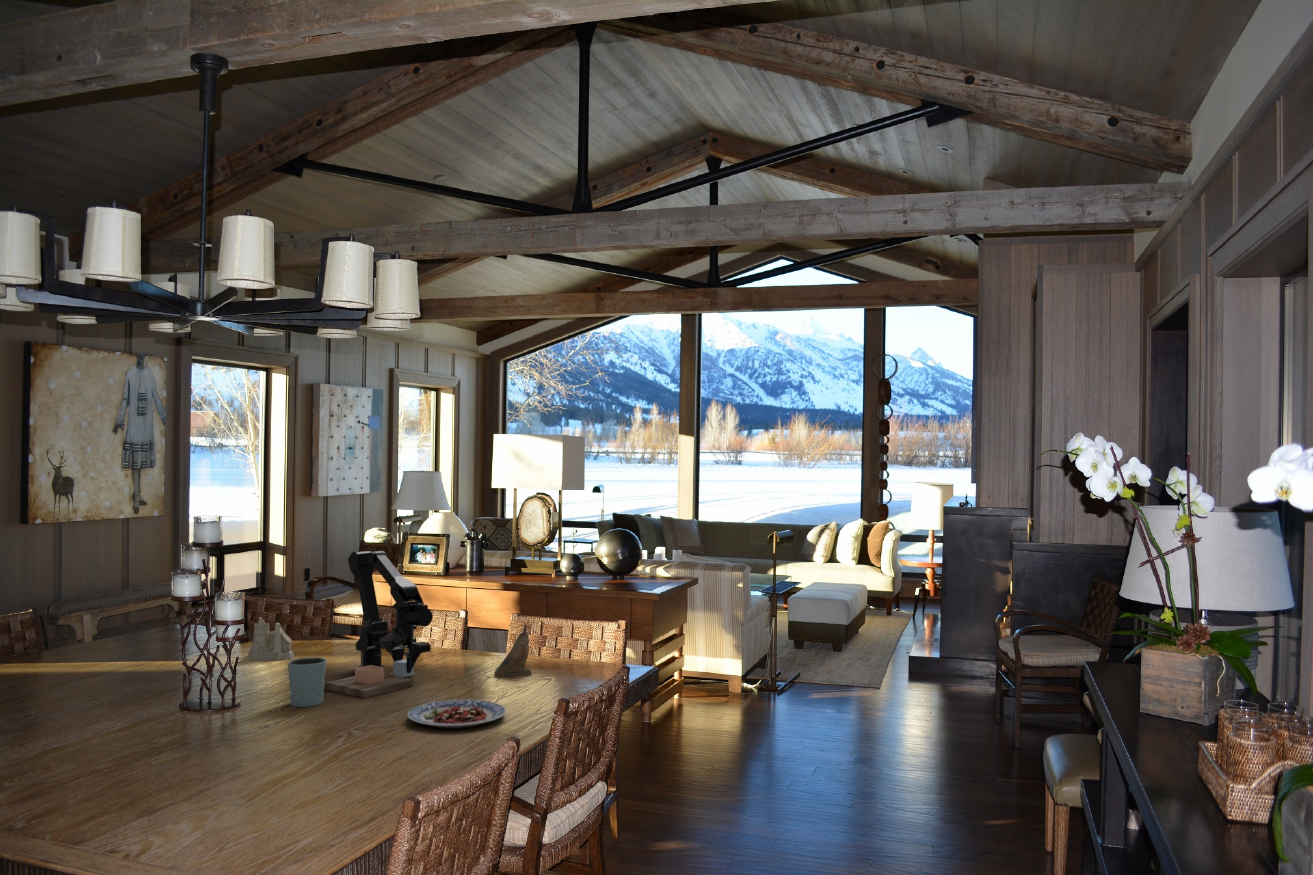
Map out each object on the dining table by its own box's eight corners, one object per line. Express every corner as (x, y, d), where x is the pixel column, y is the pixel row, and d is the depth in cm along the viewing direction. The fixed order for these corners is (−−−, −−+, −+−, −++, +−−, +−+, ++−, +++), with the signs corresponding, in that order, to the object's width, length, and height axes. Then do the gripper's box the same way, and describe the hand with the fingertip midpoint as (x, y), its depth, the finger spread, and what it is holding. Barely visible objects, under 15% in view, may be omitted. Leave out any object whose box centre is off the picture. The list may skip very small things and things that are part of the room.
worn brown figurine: (528, 680, 305) (540, 626, 308) (530, 683, 300) (543, 628, 302) (492, 674, 302) (505, 619, 304) (494, 677, 297) (507, 621, 299)
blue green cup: (332, 701, 264) (334, 659, 264) (305, 709, 255) (307, 665, 255) (306, 697, 268) (307, 655, 269) (278, 705, 259) (280, 661, 259)
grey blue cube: (393, 675, 298) (393, 661, 299) (404, 673, 302) (404, 659, 302) (402, 677, 296) (403, 663, 296) (413, 674, 300) (414, 660, 300)
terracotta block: (354, 681, 281) (355, 668, 281) (370, 677, 286) (371, 664, 286) (367, 684, 277) (368, 670, 277) (383, 680, 282) (384, 667, 282)
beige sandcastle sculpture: (287, 660, 319) (287, 616, 320) (239, 662, 318) (240, 617, 320) (303, 654, 334) (304, 612, 336) (258, 656, 334) (258, 614, 335)
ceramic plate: (522, 712, 255) (523, 701, 255) (474, 737, 231) (475, 725, 231) (441, 704, 264) (441, 693, 264) (387, 727, 239) (387, 715, 240)
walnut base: (325, 689, 279) (325, 682, 279) (372, 678, 294) (373, 672, 294) (365, 697, 269) (365, 690, 269) (412, 686, 284) (412, 679, 284)
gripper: (365, 623, 298) (364, 672, 297) (405, 629, 288) (404, 680, 287) (392, 619, 307) (391, 666, 307) (432, 624, 297) (431, 674, 297)
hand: (403, 671), depth 299 cm, fingers closed on grey blue cube, 4 cm apart
